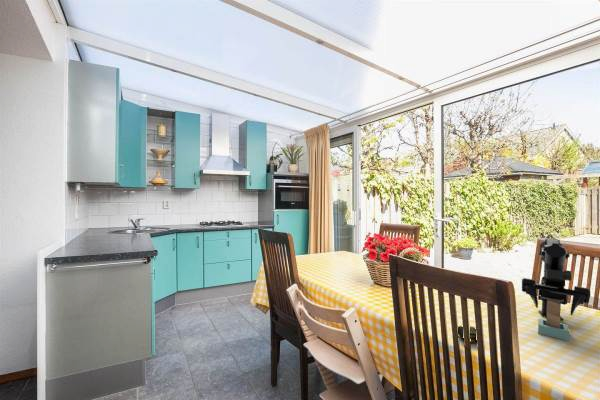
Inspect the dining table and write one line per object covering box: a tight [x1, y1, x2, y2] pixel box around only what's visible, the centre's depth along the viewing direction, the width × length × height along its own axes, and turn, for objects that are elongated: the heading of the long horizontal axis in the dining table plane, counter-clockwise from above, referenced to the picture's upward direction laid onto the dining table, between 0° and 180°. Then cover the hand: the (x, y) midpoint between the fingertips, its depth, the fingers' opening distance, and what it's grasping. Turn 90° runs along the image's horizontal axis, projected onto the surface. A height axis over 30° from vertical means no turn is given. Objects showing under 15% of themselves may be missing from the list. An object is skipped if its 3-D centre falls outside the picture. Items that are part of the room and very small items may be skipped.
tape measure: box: [457, 325, 478, 344], centre depth 97 cm, size 7×7×4 cm
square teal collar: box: [537, 317, 570, 342], centre depth 105 cm, size 8×8×3 cm
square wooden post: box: [545, 300, 562, 329], centre depth 105 cm, size 4×4×11 cm
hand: (553, 310), depth 104 cm, fingers open, 9 cm apart
